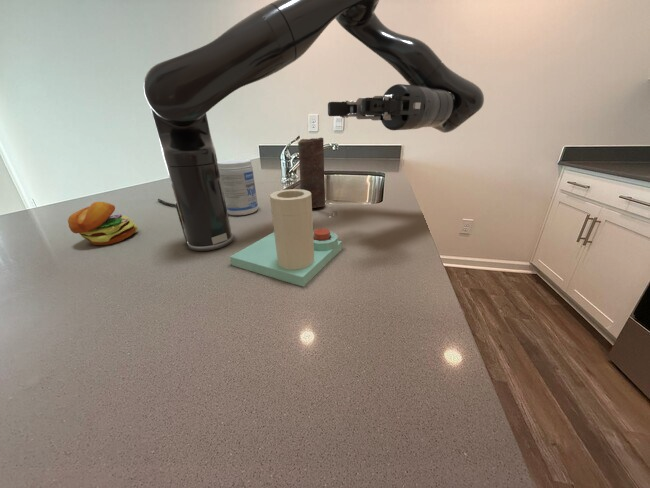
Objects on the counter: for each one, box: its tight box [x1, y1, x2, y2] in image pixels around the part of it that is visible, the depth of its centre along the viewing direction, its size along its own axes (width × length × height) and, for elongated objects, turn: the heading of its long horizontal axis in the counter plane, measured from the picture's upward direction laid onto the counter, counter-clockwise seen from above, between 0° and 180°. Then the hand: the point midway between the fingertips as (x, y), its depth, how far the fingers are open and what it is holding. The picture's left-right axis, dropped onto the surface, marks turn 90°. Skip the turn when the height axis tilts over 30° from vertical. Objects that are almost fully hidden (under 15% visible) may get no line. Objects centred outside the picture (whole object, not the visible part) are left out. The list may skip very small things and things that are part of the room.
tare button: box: [313, 228, 331, 241], centre depth 51 cm, size 3×3×2 cm
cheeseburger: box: [67, 201, 139, 246], centre depth 59 cm, size 10×11×10 cm
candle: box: [297, 137, 326, 209], centre depth 76 cm, size 8×7×20 cm
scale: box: [229, 231, 343, 288], centre depth 50 cm, size 16×15×4 cm
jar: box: [269, 188, 314, 270], centre depth 43 cm, size 6×6×12 cm
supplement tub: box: [217, 158, 259, 216], centre depth 75 cm, size 10×10×15 cm
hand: (344, 107), depth 41 cm, fingers open, 8 cm apart
